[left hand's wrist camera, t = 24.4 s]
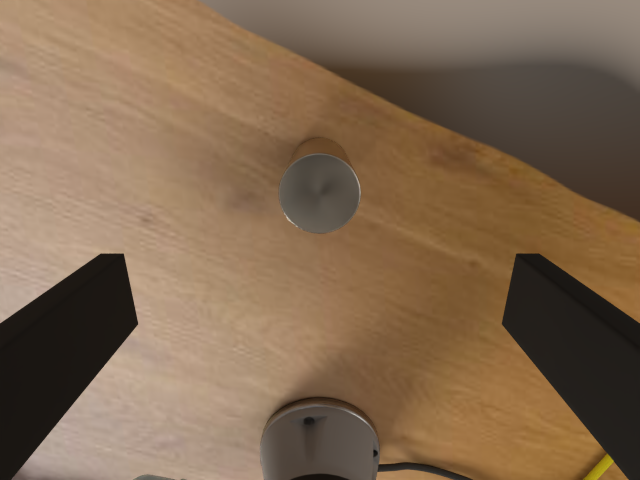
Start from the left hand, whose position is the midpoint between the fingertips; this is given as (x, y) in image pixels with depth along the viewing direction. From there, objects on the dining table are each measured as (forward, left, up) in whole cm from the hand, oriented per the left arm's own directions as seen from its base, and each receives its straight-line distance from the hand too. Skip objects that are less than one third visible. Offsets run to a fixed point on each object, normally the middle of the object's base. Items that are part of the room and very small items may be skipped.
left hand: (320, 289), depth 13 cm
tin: (0, 0, -24) cm, 24 cm away
